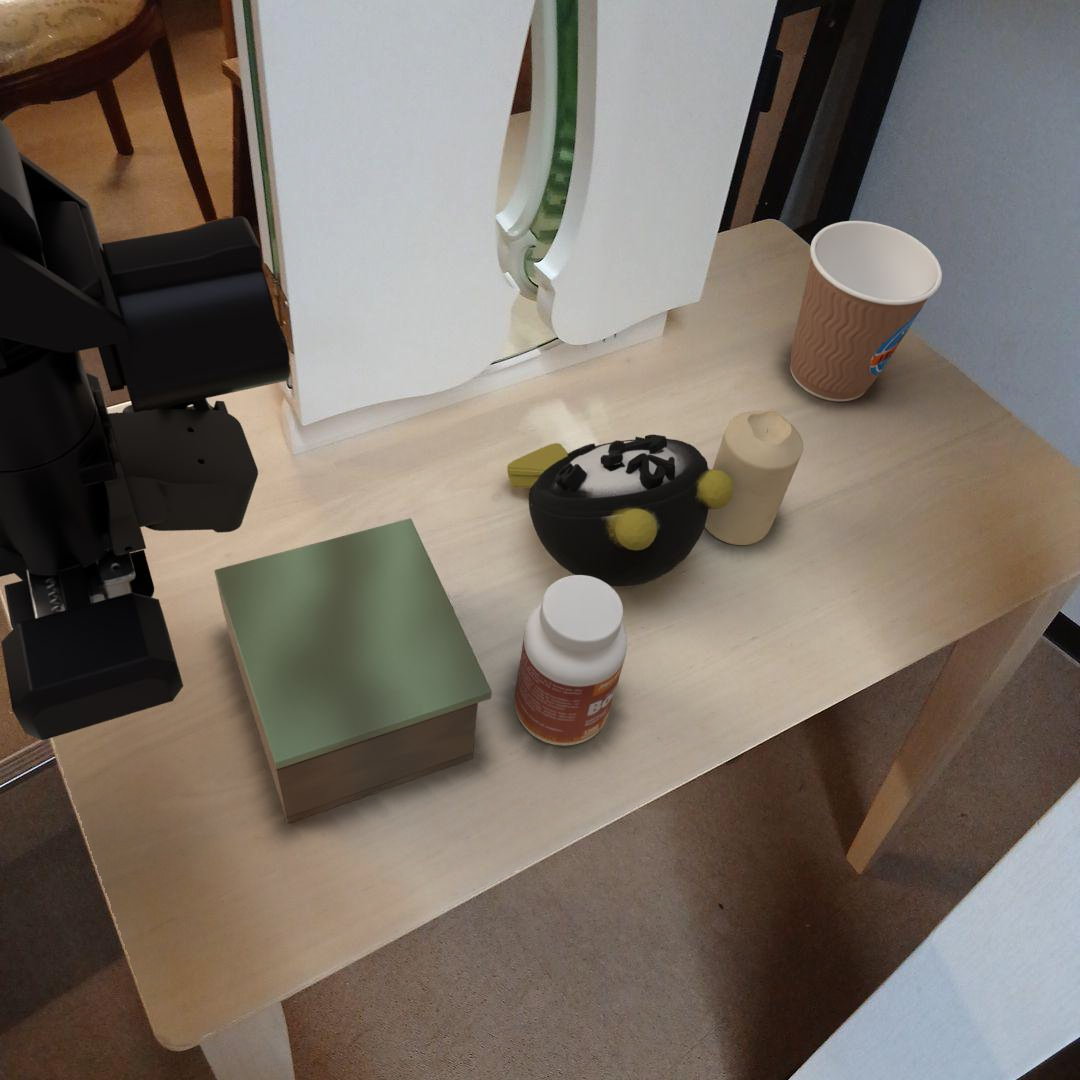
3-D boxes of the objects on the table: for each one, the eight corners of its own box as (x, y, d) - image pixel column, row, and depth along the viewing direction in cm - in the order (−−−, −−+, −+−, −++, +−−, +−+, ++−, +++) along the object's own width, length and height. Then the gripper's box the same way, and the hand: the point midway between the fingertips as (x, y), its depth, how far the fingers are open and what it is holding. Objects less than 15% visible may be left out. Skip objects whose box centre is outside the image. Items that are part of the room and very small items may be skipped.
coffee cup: (874, 432, 88) (930, 318, 79) (756, 390, 90) (796, 273, 81) (898, 359, 94) (952, 245, 85) (787, 321, 96) (828, 205, 87)
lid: (411, 525, 68) (411, 517, 68) (491, 698, 61) (492, 691, 60) (215, 577, 64) (213, 569, 64) (276, 770, 57) (275, 763, 56)
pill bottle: (593, 762, 67) (621, 667, 58) (500, 731, 67) (514, 633, 59) (619, 682, 70) (648, 582, 62) (530, 653, 71) (547, 551, 63)
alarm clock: (634, 506, 85) (757, 401, 74) (614, 661, 76) (750, 567, 66) (508, 440, 82) (618, 319, 71) (471, 595, 73) (591, 484, 62)
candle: (689, 530, 79) (720, 436, 72) (710, 481, 83) (741, 386, 75) (760, 556, 78) (799, 463, 71) (778, 505, 82) (817, 412, 74)
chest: (399, 591, 73) (399, 528, 68) (472, 759, 66) (478, 703, 61) (230, 640, 70) (215, 577, 64) (287, 823, 62) (276, 770, 57)
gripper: (288, 540, 39) (315, 743, 51) (176, 243, 49) (221, 471, 62) (-41, 627, 36) (72, 823, 48) (-89, 288, 46) (15, 520, 58)
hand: (106, 639), depth 54 cm, fingers closed
